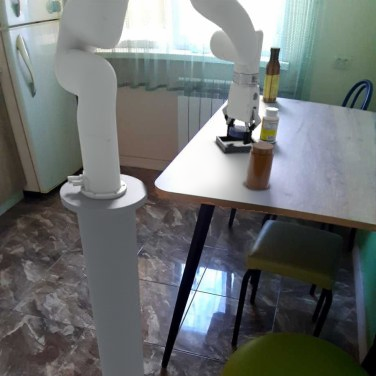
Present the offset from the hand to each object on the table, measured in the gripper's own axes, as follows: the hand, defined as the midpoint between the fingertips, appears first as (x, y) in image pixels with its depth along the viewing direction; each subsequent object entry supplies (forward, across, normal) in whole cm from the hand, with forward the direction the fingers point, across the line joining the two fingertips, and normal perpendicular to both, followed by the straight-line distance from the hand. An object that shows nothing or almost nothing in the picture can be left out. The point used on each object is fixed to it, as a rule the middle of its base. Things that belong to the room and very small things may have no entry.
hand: (238, 140), depth 136 cm
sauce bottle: (+2, +32, -56) cm, 65 cm away
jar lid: (-3, 0, 0) cm, 3 cm away
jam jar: (+2, -25, +19) cm, 31 cm away
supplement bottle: (+2, -2, -12) cm, 13 cm away
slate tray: (+2, 0, 0) cm, 2 cm away
